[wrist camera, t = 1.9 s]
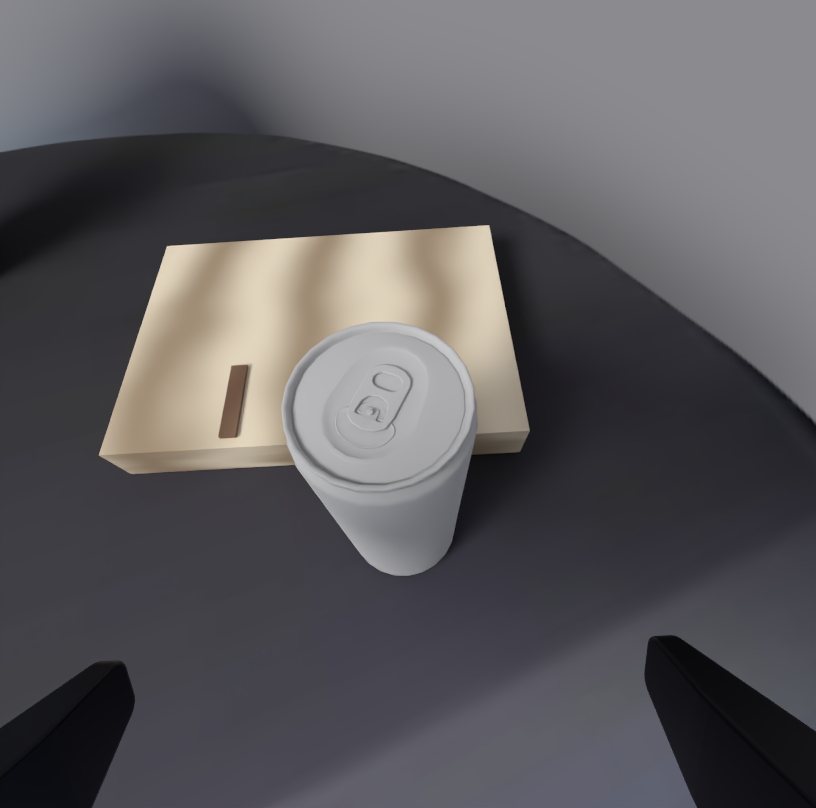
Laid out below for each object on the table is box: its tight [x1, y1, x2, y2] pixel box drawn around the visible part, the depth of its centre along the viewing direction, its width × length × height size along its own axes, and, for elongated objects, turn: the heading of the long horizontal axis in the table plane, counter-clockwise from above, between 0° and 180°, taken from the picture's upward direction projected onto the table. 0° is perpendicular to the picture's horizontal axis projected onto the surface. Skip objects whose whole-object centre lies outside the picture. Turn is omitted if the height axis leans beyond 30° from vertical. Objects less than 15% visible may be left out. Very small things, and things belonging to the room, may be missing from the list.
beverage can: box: [281, 322, 478, 576], centre depth 15 cm, size 5×5×12 cm
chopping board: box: [99, 225, 530, 474], centre depth 25 cm, size 20×14×3 cm
